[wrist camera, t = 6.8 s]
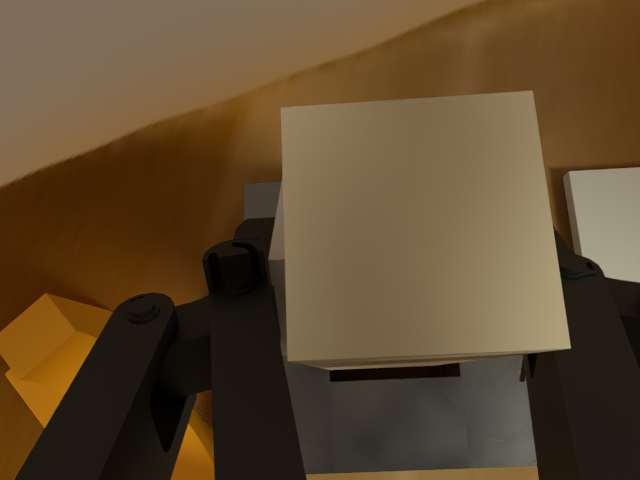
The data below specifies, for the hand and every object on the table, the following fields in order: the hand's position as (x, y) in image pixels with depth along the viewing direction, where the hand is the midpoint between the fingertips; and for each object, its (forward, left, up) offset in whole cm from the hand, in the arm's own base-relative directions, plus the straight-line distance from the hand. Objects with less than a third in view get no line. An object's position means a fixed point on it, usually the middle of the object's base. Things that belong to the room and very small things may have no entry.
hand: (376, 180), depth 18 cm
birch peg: (-1, +4, -5) cm, 6 cm away
